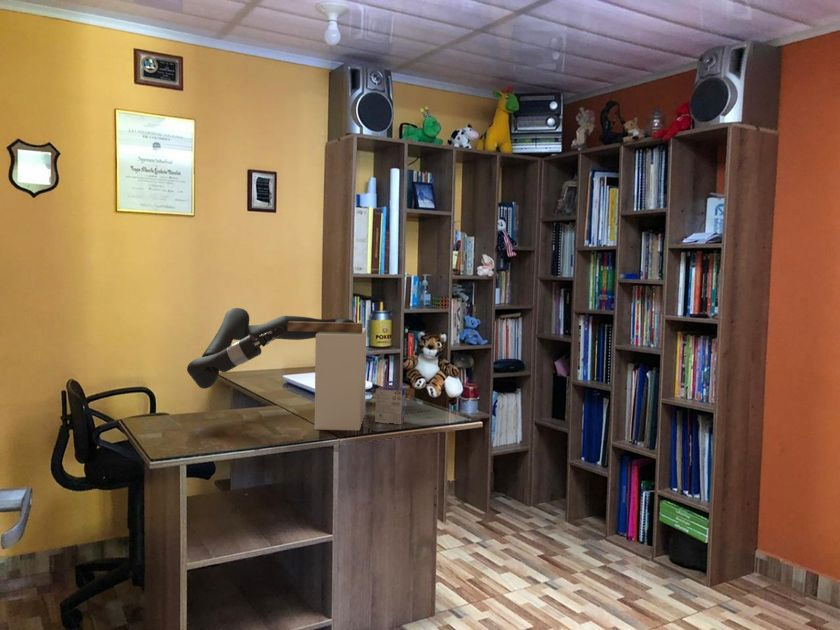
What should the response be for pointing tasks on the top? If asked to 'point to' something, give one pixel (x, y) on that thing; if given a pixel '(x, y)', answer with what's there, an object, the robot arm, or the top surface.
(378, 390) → the ink cartridge box
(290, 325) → the walnut rod
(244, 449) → the top surface
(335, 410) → the tall tan cardboard box
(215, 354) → the robot arm
